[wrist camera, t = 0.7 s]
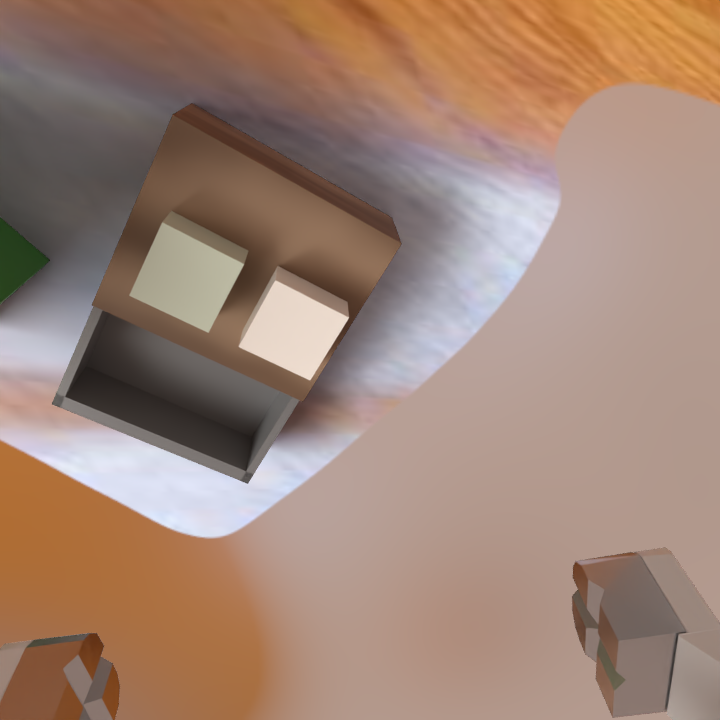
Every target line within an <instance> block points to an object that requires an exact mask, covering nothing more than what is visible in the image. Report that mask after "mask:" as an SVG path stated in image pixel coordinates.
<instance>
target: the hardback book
mask: <svg viewBox="0 0 720 720" xmlns="http://www.w3.org/2000/svg"><path fill="white" fill-rule="evenodd" d="M49 261H50V260H49V259H48V258H47V257H46V256H45V255H43V254H42V253H41V252H40V251H39V250H38V249H36V248H35V247H34V246H33V245H32V244H31V243H29V242H28V241H27V240H26V239H25V238H24V237H23V236H21V235H20V234H19V233H18V232H17V231H16V230H14V229H13V228H12V227H11V226H10V225H9V224H7V223H6V222H5V221H4V220H3V219H2V218H1V217H0V304H1V303H3V302H4V301H5V300H6V299H7V298H8V297H9V296H11V295H12V294H13V293H14V292H15V291H16V290H18V289H19V288H20V287H21V286H22V285H23V284H24V283H26V282H27V281H28V280H29V279H30V278H31V277H32V276H34V275H35V274H36V273H37V272H38V271H39V270H40V269H42V268H43V267H44V266H45V265H46V264H47V263H48V262H49Z"/></svg>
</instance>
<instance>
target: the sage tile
mask: <svg viewBox="0 0 720 720" xmlns="http://www.w3.org/2000/svg"><path fill="white" fill-rule="evenodd" d="M247 254H248V250H246V249H244V248H242V247H240V246H238V245H237V244H235V243H233V242H231V241H229V240H227V239H225V238H223V237H221V236H219V235H217V234H215V233H213V232H211V231H210V230H208V229H206V228H204V227H202V226H200V225H198V224H196V223H194V222H192V221H190V220H188V219H186V218H184V217H182V216H181V215H179V214H177V213H175V212H173V211H171V212H170V213H169V214H168V216H167V217H166V218H165V219H164V221H163V222H162V224H161V226H160V228H159V230H158V233H157V235H156V237H155V239H154V242H153V244H152V246H151V248H150V250H149V253H148V255H147V257H146V259H145V262H144V264H143V266H142V268H141V270H140V273H139V275H138V277H137V279H136V282H135V284H134V286H133V288H132V291H131V293H130V295H129V296H131V297H133V298H135V299H137V300H140V301H142V302H144V303H146V304H148V305H150V306H152V307H155V308H157V309H159V310H161V311H163V312H165V313H167V314H169V315H172V316H174V317H176V318H178V319H180V320H182V321H184V322H186V323H189V324H191V325H193V326H195V327H197V328H199V329H201V330H204V331H206V332H208V333H209V331H210V329H211V327H212V325H213V323H214V321H215V319H216V317H217V315H218V313H219V312H220V310H221V308H222V306H223V304H224V302H225V300H226V298H227V296H228V294H229V292H230V290H231V289H232V287H233V285H234V283H235V281H236V279H237V277H238V275H239V273H240V271H241V269H242V267H243V266H244V263H245V260H246V257H247Z"/></svg>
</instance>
